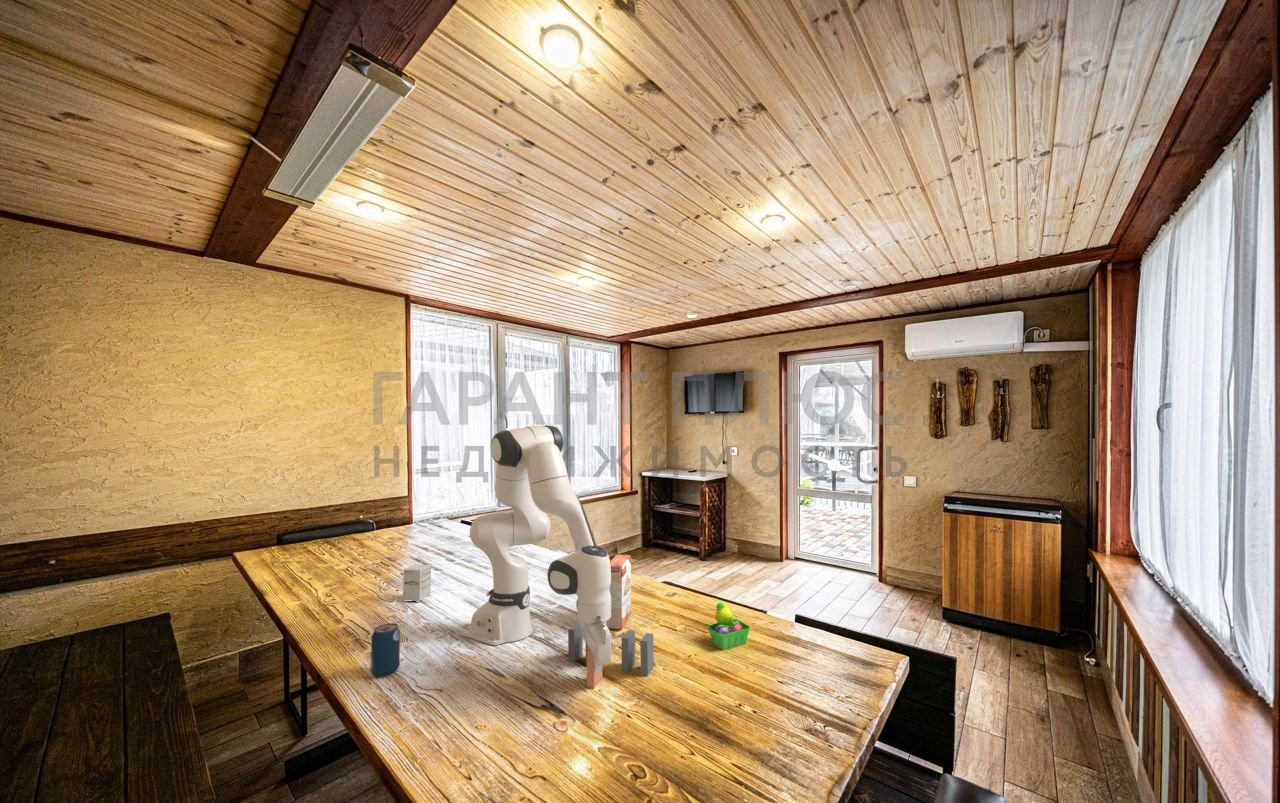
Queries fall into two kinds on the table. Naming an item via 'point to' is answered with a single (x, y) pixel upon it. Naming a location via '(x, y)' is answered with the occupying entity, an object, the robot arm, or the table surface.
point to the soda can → (385, 650)
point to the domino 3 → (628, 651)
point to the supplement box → (417, 582)
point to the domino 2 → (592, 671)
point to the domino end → (647, 654)
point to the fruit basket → (727, 629)
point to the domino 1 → (575, 643)
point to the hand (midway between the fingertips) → (594, 664)
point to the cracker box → (620, 591)
